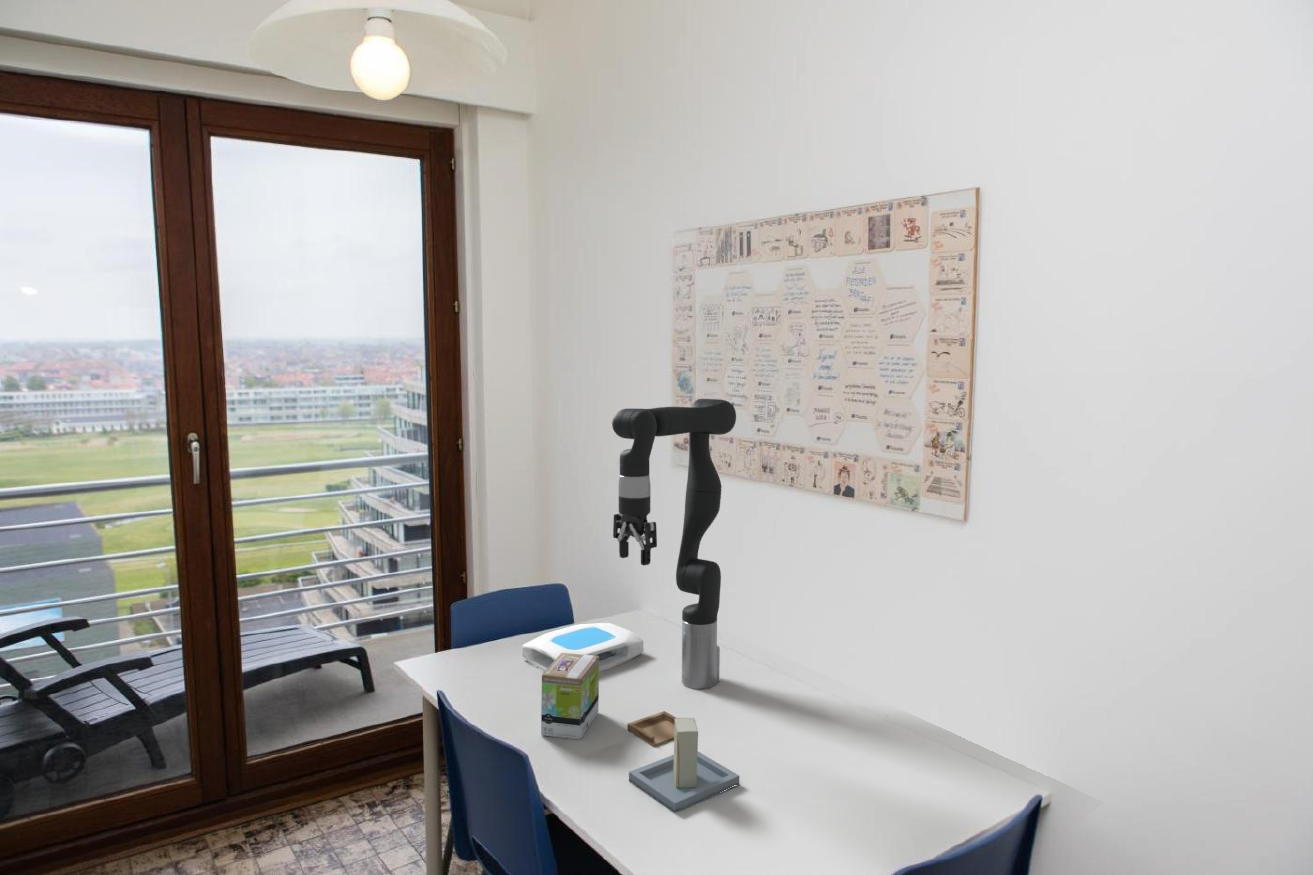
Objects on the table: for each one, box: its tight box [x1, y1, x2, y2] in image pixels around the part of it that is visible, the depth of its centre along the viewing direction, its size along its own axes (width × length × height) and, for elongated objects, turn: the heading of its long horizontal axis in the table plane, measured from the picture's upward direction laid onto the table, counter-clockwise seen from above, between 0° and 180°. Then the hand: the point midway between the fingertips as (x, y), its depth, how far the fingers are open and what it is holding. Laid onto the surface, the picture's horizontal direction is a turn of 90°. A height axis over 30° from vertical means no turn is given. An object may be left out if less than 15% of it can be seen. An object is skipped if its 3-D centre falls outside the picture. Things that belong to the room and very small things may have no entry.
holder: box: [626, 711, 677, 748], centre depth 196 cm, size 11×10×2 cm
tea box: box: [540, 653, 600, 740], centre depth 200 cm, size 15×10×15 cm
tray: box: [628, 751, 740, 814], centre depth 174 cm, size 17×15×2 cm
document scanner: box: [522, 622, 644, 672], centre depth 241 cm, size 21×28×6 cm
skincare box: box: [673, 717, 699, 788], centre depth 173 cm, size 6×4×12 cm
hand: (634, 560), depth 201 cm, fingers open, 8 cm apart
